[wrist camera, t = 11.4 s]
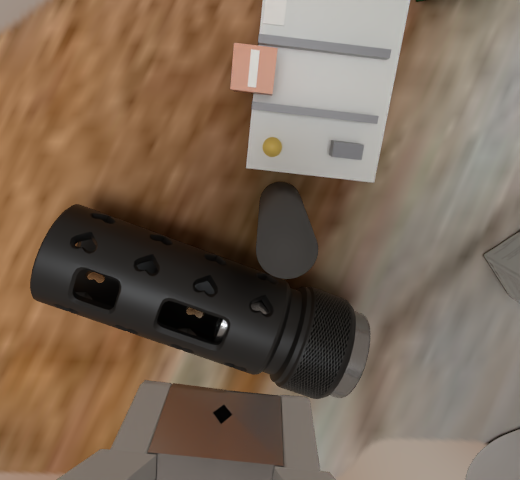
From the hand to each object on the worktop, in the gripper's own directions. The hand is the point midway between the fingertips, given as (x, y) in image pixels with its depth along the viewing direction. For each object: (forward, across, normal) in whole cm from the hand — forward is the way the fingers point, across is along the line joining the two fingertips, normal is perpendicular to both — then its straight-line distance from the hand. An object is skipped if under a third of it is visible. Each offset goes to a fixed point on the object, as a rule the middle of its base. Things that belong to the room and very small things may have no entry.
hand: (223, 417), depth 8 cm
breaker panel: (+33, +4, +7) cm, 34 cm away
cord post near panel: (+33, +2, -3) cm, 33 cm away
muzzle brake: (+33, -3, -12) cm, 36 cm away
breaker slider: (+29, -1, +8) cm, 30 cm away
